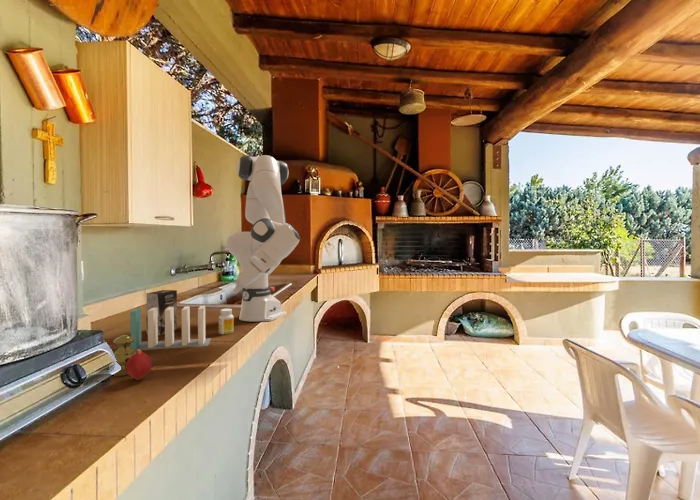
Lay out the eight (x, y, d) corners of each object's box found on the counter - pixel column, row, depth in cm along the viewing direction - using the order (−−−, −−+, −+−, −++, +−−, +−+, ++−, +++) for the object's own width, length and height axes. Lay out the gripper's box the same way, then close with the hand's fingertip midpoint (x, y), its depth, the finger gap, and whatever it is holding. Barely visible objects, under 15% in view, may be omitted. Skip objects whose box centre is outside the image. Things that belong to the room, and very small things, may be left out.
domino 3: (174, 341, 121) (173, 306, 120) (170, 346, 116) (170, 310, 115) (168, 342, 121) (168, 307, 120) (165, 346, 116) (164, 310, 115)
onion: (126, 377, 93) (126, 347, 93) (151, 373, 96) (151, 344, 96) (125, 386, 88) (125, 354, 88) (152, 381, 91) (151, 351, 91)
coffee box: (161, 337, 129) (160, 293, 128) (145, 336, 130) (145, 292, 129) (178, 331, 138) (177, 289, 137) (163, 330, 139) (163, 289, 138)
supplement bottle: (215, 336, 131) (215, 310, 131) (223, 332, 137) (223, 307, 136) (229, 337, 131) (229, 311, 130) (236, 333, 136) (236, 308, 135)
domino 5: (205, 339, 124) (205, 305, 123) (203, 344, 119) (203, 308, 118) (200, 340, 123) (200, 305, 123) (198, 344, 118) (197, 309, 118)
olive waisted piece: (102, 377, 93) (102, 340, 93) (115, 367, 100) (115, 332, 100) (133, 376, 95) (133, 339, 94) (144, 365, 102) (143, 331, 101)
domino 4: (189, 340, 122) (189, 306, 122) (187, 345, 117) (186, 309, 117) (184, 341, 122) (184, 306, 121) (181, 345, 117) (181, 309, 116)
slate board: (211, 340, 126) (211, 338, 126) (207, 348, 117) (207, 345, 117) (132, 345, 120) (132, 342, 119) (122, 354, 111) (122, 351, 111)
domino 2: (157, 342, 120) (157, 307, 119) (153, 347, 115) (153, 310, 114) (152, 343, 119) (152, 307, 119) (148, 347, 114) (147, 311, 114)
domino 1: (141, 343, 118) (140, 308, 118) (136, 348, 113) (135, 311, 113) (136, 343, 118) (135, 308, 118) (130, 348, 113) (130, 311, 113)
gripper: (260, 256, 135) (234, 283, 133) (252, 256, 114) (221, 288, 113) (272, 268, 135) (247, 294, 134) (266, 269, 115) (236, 301, 113)
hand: (235, 291), depth 123 cm, fingers closed
